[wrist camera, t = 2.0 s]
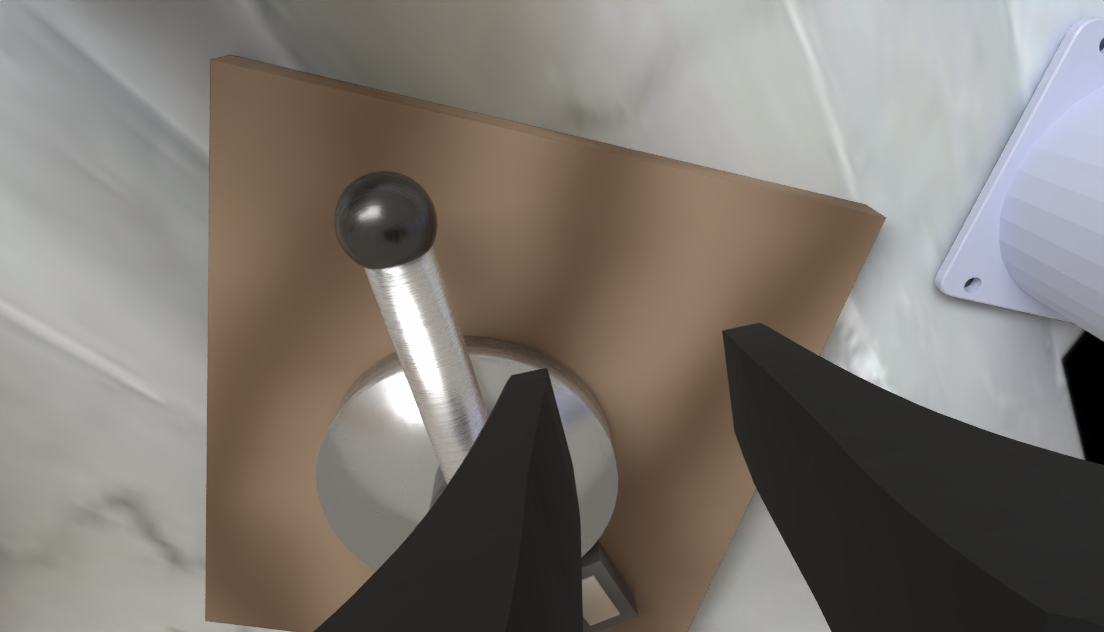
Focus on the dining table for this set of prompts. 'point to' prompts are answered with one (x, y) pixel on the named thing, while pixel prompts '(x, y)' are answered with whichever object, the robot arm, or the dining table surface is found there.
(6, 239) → the dining table surface
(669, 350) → the stand
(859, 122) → the dining table surface
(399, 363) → the ball knob lever
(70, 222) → the dining table surface
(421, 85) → the dining table surface
